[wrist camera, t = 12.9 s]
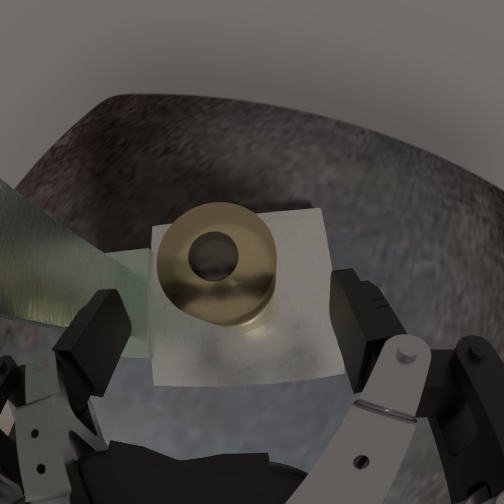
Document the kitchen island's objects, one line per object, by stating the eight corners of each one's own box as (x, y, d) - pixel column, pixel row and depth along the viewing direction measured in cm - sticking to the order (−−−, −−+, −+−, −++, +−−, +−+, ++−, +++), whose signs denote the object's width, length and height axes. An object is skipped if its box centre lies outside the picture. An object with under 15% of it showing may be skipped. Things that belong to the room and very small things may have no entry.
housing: (271, 263, 19) (269, 192, 10) (277, 328, 18) (283, 313, 9) (206, 269, 19) (156, 207, 11) (210, 334, 18) (153, 322, 9)
